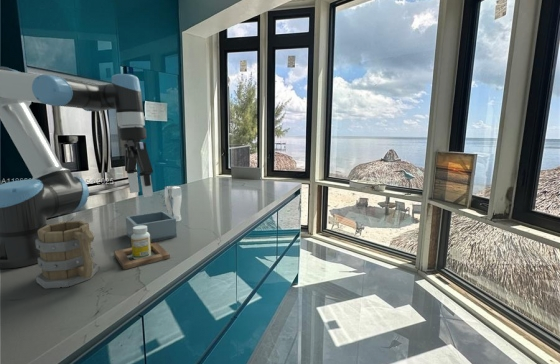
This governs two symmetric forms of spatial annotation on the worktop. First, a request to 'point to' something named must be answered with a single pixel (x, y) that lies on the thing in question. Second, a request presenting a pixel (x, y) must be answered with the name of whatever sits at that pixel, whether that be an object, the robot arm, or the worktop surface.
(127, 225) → the bin
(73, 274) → the tankard
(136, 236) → the supplement bottle
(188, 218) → the worktop surface
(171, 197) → the beer glass
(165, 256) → the socket frame
